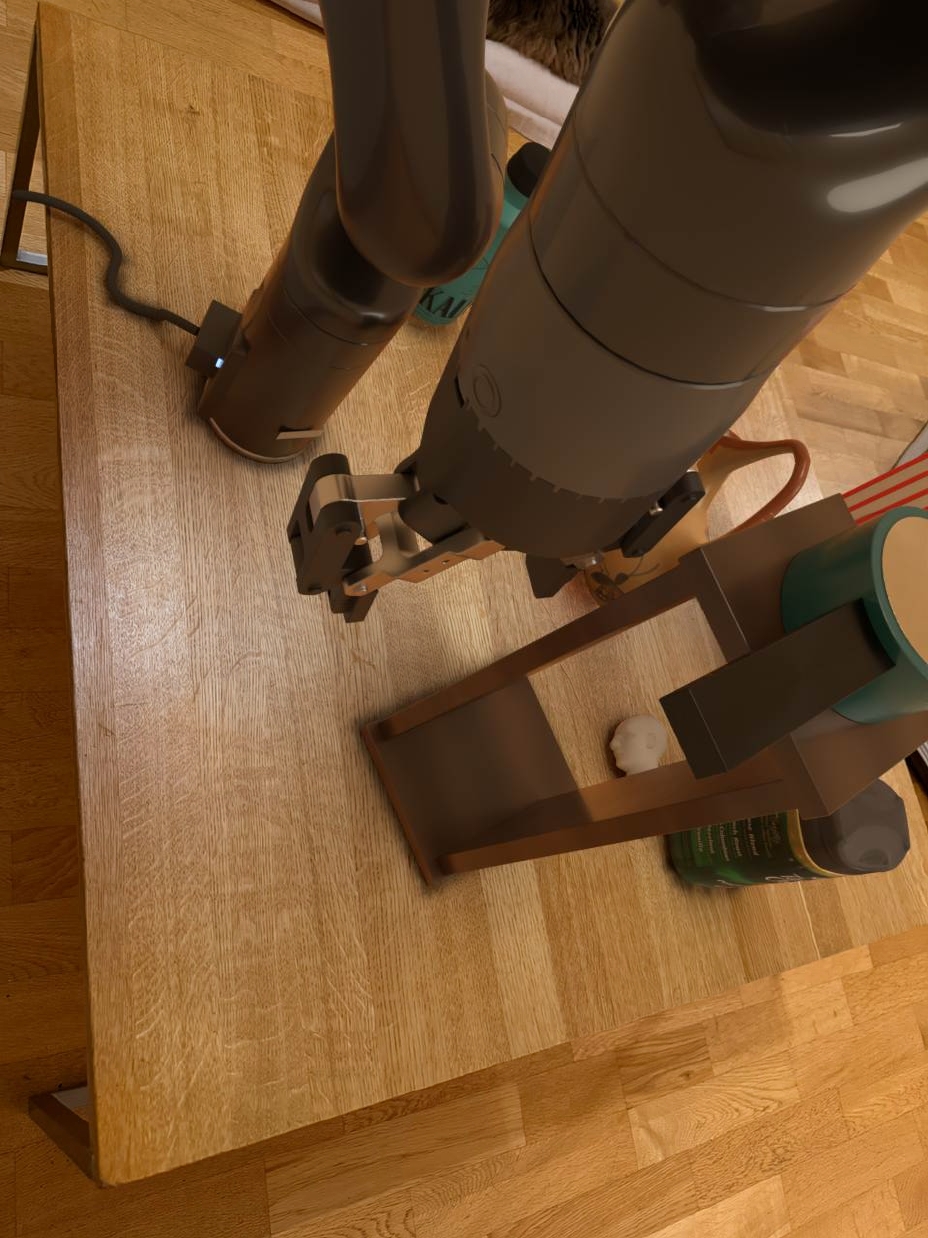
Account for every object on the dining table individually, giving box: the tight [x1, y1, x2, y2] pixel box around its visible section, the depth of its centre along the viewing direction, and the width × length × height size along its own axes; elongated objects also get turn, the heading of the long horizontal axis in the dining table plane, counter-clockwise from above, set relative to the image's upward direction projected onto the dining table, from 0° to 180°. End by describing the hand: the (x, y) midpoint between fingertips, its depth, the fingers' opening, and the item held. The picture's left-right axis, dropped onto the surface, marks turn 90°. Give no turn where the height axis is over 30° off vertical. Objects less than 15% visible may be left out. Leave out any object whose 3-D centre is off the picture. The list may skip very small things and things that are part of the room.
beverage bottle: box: [412, 141, 551, 327], centre depth 81 cm, size 6×7×20 cm
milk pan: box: [658, 506, 928, 780], centre depth 40 cm, size 20×9×5 cm, turn 118°
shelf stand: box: [359, 492, 928, 887], centre depth 61 cm, size 16×13×37 cm
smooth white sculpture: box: [609, 714, 669, 776], centre depth 83 cm, size 4×8×5 cm
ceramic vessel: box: [583, 429, 812, 607], centre depth 80 cm, size 16×9×25 cm, turn 167°
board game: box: [841, 451, 928, 525], centre depth 86 cm, size 20×6×27 cm, turn 5°
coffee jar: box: [668, 778, 912, 889], centre depth 78 cm, size 10×8×19 cm
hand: (445, 589), depth 40 cm, fingers open, 8 cm apart
